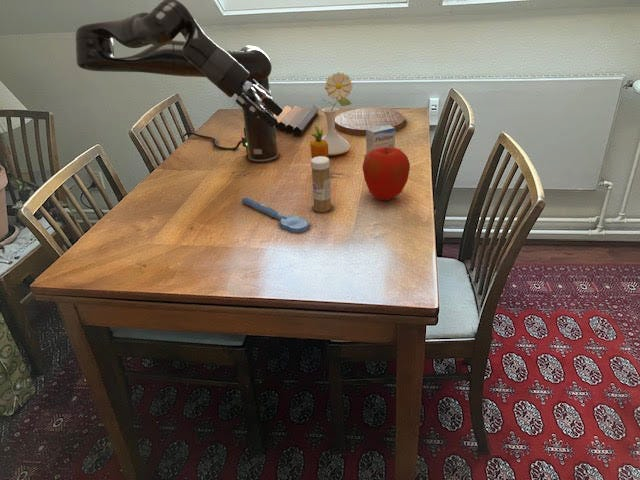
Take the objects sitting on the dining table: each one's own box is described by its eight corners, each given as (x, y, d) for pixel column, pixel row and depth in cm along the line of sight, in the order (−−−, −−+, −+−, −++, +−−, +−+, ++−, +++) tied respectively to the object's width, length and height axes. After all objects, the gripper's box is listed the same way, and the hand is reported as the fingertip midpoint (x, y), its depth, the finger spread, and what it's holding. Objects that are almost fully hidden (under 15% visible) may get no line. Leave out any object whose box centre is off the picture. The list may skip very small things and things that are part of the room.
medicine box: (373, 160, 160) (373, 132, 156) (365, 155, 164) (365, 128, 159) (395, 154, 163) (395, 127, 159) (387, 150, 166) (387, 123, 162)
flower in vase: (308, 156, 165) (303, 75, 152) (322, 144, 174) (318, 66, 161) (348, 161, 161) (345, 77, 148) (359, 147, 170) (358, 68, 157)
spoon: (236, 206, 138) (235, 199, 137) (251, 199, 141) (250, 193, 140) (296, 235, 123) (296, 228, 122) (312, 227, 126) (312, 220, 125)
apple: (396, 211, 130) (397, 158, 123) (354, 202, 136) (353, 150, 129) (416, 192, 139) (418, 141, 132) (375, 184, 145) (375, 135, 138)
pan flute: (302, 136, 182) (318, 114, 203) (301, 126, 180) (318, 105, 201) (234, 134, 188) (257, 112, 208) (233, 125, 186) (256, 104, 207)
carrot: (327, 182, 148) (325, 130, 140) (310, 181, 149) (307, 130, 141) (331, 175, 152) (328, 124, 144) (314, 174, 153) (311, 124, 145)
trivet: (408, 133, 179) (408, 128, 178) (335, 136, 180) (335, 131, 179) (400, 111, 200) (400, 106, 200) (334, 114, 201) (334, 109, 200)
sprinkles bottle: (310, 209, 134) (306, 160, 127) (321, 203, 137) (318, 154, 130) (323, 214, 131) (321, 164, 125) (335, 207, 134) (333, 158, 127)
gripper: (223, 76, 131) (273, 120, 135) (207, 92, 118) (263, 139, 123) (241, 53, 127) (292, 99, 132) (226, 67, 115) (283, 116, 120)
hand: (278, 118), depth 127 cm, fingers open, 8 cm apart
